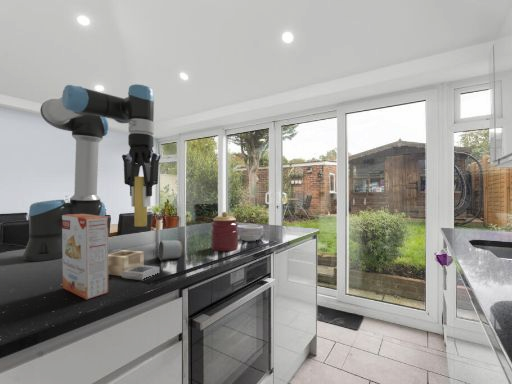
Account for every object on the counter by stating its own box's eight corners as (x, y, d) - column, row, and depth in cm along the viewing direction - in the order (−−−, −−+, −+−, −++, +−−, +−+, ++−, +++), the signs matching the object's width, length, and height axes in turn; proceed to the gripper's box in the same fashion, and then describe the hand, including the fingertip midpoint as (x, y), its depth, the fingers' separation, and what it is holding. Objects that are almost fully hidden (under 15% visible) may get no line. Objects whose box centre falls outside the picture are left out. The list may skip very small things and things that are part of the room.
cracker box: (60, 289, 75) (60, 214, 75) (84, 283, 80) (84, 213, 80) (84, 301, 67) (84, 217, 67) (109, 293, 72) (109, 215, 72)
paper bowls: (268, 240, 150) (268, 226, 150) (244, 243, 142) (244, 228, 142) (254, 236, 163) (254, 223, 163) (232, 238, 155) (232, 225, 155)
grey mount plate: (121, 277, 85) (121, 271, 85) (139, 270, 93) (139, 264, 93) (142, 280, 83) (142, 273, 83) (159, 272, 90) (159, 266, 90)
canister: (236, 251, 122) (237, 213, 122) (208, 251, 122) (208, 212, 122) (239, 245, 135) (239, 210, 135) (213, 245, 135) (213, 210, 135)
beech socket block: (102, 273, 89) (102, 255, 89) (123, 266, 98) (123, 249, 98) (124, 276, 87) (124, 257, 87) (143, 268, 95) (143, 251, 95)
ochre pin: (131, 226, 86) (131, 176, 86) (140, 225, 90) (140, 177, 90) (141, 226, 85) (141, 176, 85) (149, 225, 89) (149, 177, 89)
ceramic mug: (183, 259, 109) (183, 240, 109) (162, 262, 104) (162, 242, 104) (175, 254, 117) (175, 236, 117) (155, 257, 113) (155, 238, 113)
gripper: (111, 133, 86) (111, 206, 87) (155, 130, 81) (155, 207, 82) (128, 138, 94) (128, 205, 94) (170, 135, 89) (170, 206, 89)
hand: (140, 206), depth 88 cm, fingers closed on ochre pin, 4 cm apart
